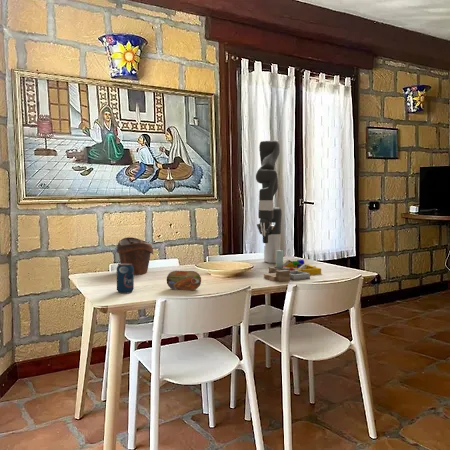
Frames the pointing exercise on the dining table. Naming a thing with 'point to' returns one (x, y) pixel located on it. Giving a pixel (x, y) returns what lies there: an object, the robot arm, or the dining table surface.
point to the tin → (183, 280)
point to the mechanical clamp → (301, 267)
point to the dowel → (279, 259)
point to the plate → (270, 276)
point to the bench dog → (282, 275)
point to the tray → (299, 275)
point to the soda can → (125, 278)
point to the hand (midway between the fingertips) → (265, 243)
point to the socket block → (274, 269)
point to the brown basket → (135, 253)
